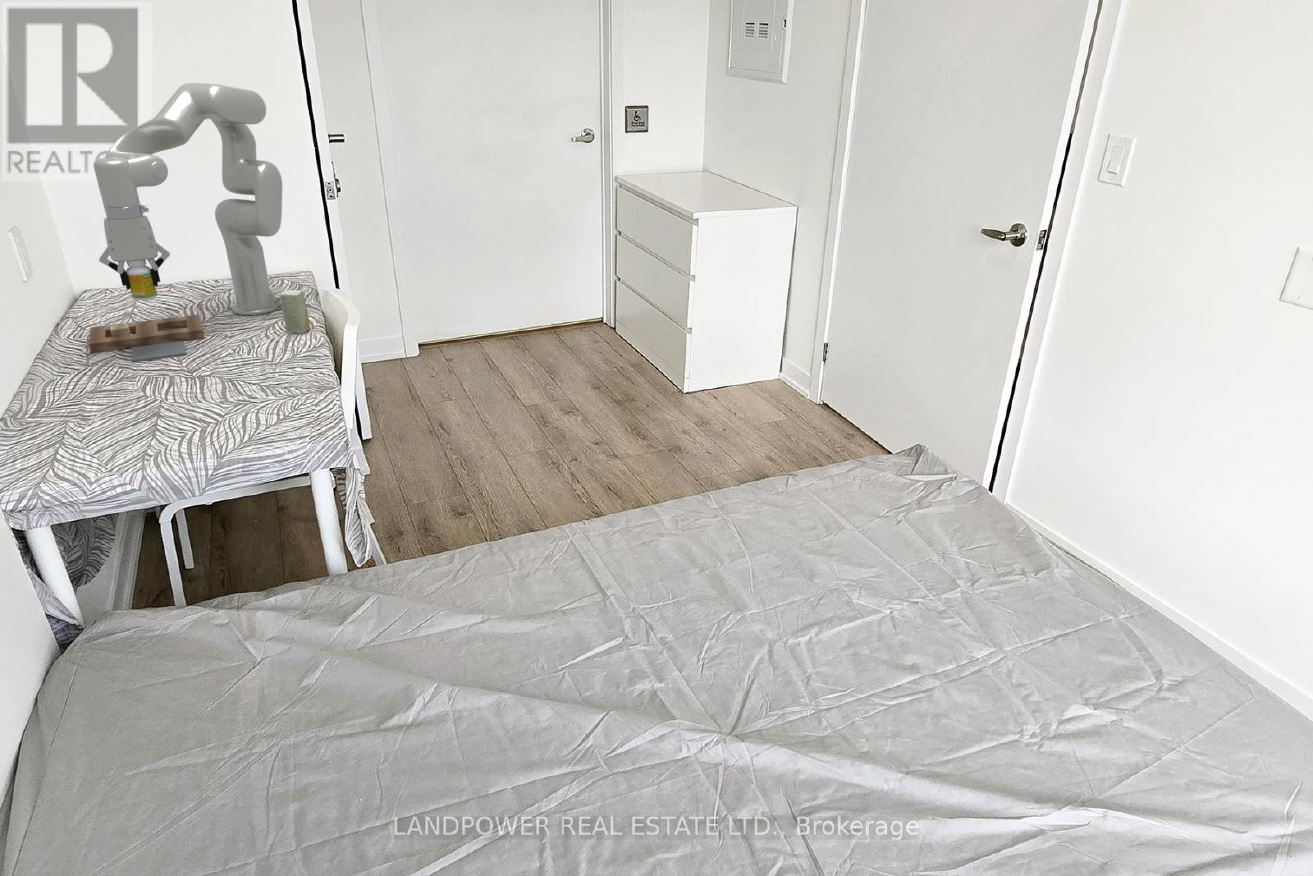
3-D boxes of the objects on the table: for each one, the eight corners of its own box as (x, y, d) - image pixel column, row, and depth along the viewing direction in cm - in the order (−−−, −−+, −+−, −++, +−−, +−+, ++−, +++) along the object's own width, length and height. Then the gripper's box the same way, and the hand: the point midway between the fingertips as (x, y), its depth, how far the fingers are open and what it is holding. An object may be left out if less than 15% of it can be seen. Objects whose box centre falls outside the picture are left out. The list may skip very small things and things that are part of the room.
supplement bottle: (150, 301, 209) (140, 262, 205) (128, 300, 210) (118, 261, 205) (161, 294, 214) (152, 256, 210) (140, 294, 214) (131, 255, 210)
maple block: (131, 337, 227) (128, 323, 226) (131, 342, 224) (128, 328, 222) (114, 339, 226) (110, 325, 224) (114, 344, 223) (110, 330, 221)
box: (311, 328, 237) (304, 290, 232) (303, 334, 233) (297, 294, 228) (293, 327, 237) (286, 289, 232) (285, 333, 233) (278, 293, 228)
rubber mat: (184, 342, 225) (183, 340, 225) (186, 354, 217) (185, 352, 217) (132, 349, 220) (131, 347, 219) (132, 362, 212) (131, 360, 212)
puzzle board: (201, 322, 239) (199, 314, 238) (204, 338, 228) (202, 329, 227) (92, 336, 227) (90, 327, 226) (91, 353, 216) (88, 344, 215)
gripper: (164, 206, 209) (180, 278, 217) (82, 212, 202) (102, 286, 210) (165, 212, 203) (182, 286, 212) (81, 218, 196) (101, 294, 204)
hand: (142, 285), depth 211 cm, fingers closed on supplement bottle, 5 cm apart
